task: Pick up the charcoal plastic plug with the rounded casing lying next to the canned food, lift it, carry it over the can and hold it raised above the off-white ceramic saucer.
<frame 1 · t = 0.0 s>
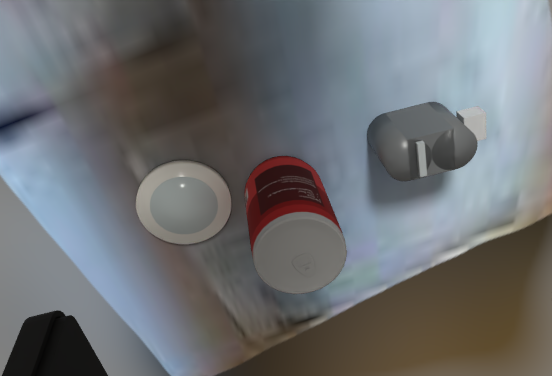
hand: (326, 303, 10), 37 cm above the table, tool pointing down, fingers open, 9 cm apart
canned food: (282, 188, 52), on the table
plug: (408, 127, 50), on the table
saucer: (184, 201, 51), on the table
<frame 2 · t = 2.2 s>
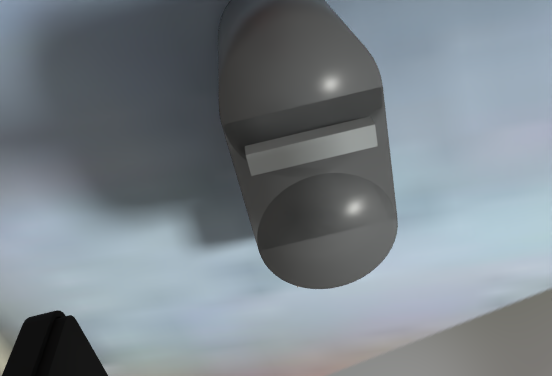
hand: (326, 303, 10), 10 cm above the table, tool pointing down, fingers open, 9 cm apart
plug: (288, 93, 19), on the table
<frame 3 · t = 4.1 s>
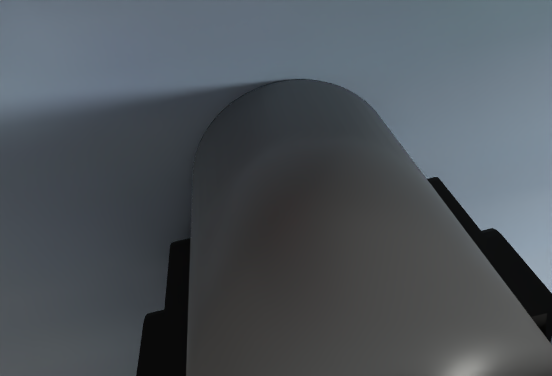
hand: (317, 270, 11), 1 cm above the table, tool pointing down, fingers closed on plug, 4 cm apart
plug: (312, 255, 11), on the table, touching gripper
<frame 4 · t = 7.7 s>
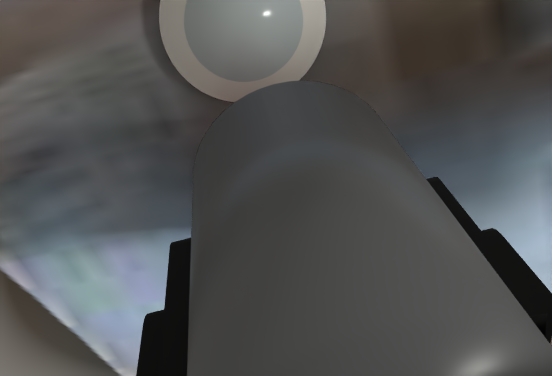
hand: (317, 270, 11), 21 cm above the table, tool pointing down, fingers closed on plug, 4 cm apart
plug: (313, 256, 11), point 21 cm above the table, touching gripper
saucer: (243, 20, 29), on the table
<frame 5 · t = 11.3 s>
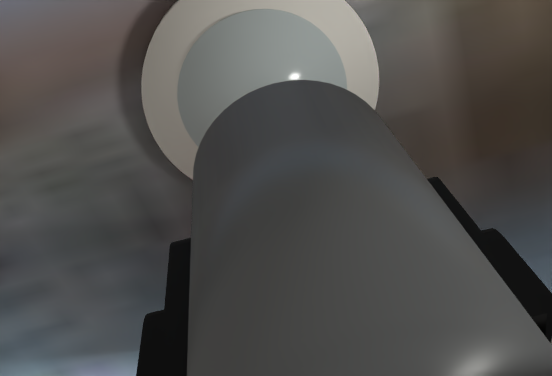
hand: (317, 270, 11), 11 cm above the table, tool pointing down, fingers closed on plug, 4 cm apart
plug: (312, 255, 11), point 11 cm above the table, touching gripper
saucer: (261, 89, 21), on the table
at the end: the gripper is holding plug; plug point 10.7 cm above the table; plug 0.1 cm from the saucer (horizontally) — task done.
